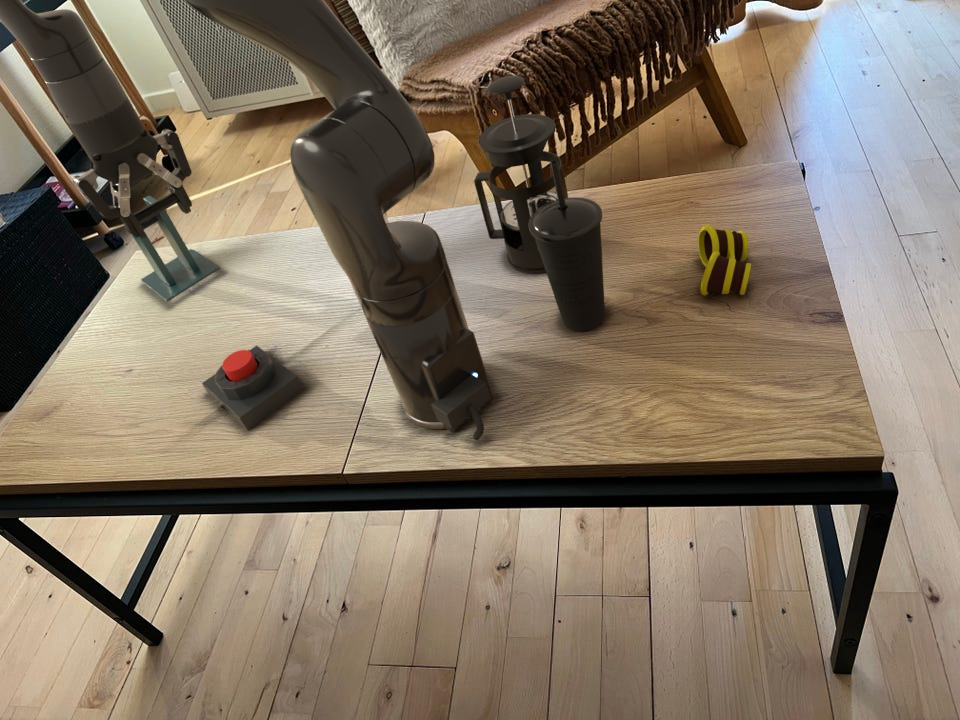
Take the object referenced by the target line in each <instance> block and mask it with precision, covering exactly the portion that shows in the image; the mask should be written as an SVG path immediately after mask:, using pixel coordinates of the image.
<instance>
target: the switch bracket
mask: <svg viewBox="0 0 960 720" xmlns="http://www.w3.org/2000/svg"><path fill="white" fill-rule="evenodd" d="M142 199H143V201H144V203H145V205H146V207H147V206H149V205H151V204H153V203H154V202H156V201H158V200H159V199H158V200H157V199H156V198H155V197H153V196H151V195H147V196H145V197H143V198H142ZM156 217H157V218H158V220H159V221H158V222H157V223H156V224H158V226H159V228H160V230H161V231H162V233H163V235H164V236H165V238H166V240H167V242H168V243H169V245H170V247H171V248H172V250H173V252H174V254H175V255H176V257H175V258H173V259H172V260H170V261H169V262H167V263H164V261H163V259H162V257H161V256H160V254H159V253H158V251H157V249H156V248H155V246H154V245H153V243H152V241H151V240H150V238H149V236H148V235H147V233H146V231H145V230H144V232H145V234H146V235H147V237H146V238H145V239H143V240H142V239H141V238H139V237H137V238H136V237H135V236H133V235H132V234H131V236H132V238H133V239H134V241H135V242H136V244H137V245H138V247H139V249H140V250H141V252H142V253H143V255H144V257H145V259H146V260H147V262H148V264H149V265H150V266H151V268H152V270H153V271H152V272H151V273H148V274H147V275H145V276H144V277H142V278H141V279H140V282H141V283H143V284H144V285H145V286H147V287H148V288H149V289H150V290H152V291H153V292H154V293H155V294H157V295H158V296H159V297H160V298H161V299H163V300H164V301H165V302H169V301H171V300H172V299H174V298H176V297H177V296H179V295H180V294H182V293H183V292H185V291H186V290H188V289H190V288H191V287H193V286H195V285H196V284H198V283H199V282H201V281H202V280H204V279H205V278H207V277H209V276H210V275H212V274H214V273H215V272H216V271H218V270H220V267H219V266H218V265H216V264H215V263H213V262H212V261H210V260H209V259H207V258H206V257H204V256H202V255H201V254H199V253H198V252H197V251H196V250H194V249H192V248H190V249H189V248H188V247H187V245H186V243H185V241H184V240H183V238H182V236H181V234H180V233H179V231H178V229H177V227H176V226H175V224H174V222H173V221H172V219H171V217H170V215H169V213H168V209H166V210H164V211H162V212H161V213H159V214H157V215H156ZM123 226H124V228H125V230H126V231H127V232H128V233H129V231H128V230H127V228H126V227H125V225H124V224H123ZM142 229H143V228H142Z"/></svg>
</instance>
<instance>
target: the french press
mask: <svg viewBox="0 0 960 720" xmlns="http://www.w3.org/2000/svg"><path fill="white" fill-rule="evenodd" d="M524 84H525V79H524V77H522V76H519V75H507V76H502V77H500V78H498V79H494V81H492V82H490V83H489V84H488V86H487V89H486V91H487V92H488V93H489V94H492V95H503V98H504V100H505V101H507V103H508V108H509V113H510V117H507V118H504V119H501V120H499V121H497V122H494V123H492V124H491V125H490V126H488V127H487V128H486V129H484V131H482V133H481V134H480V135H479V138H478V144H479V147H480V149H481V150H483V152H485V157H486V160H487V161H488V162H489V163H490V164H491V165H493V166H492V168H491V169H490V171H480V172H477V173H476V176H475V178H474V180H473V181H474V187H475V190H476V194H477V199H478V201H479V205H480V210H481V212H482V216H483V219H484V224H485V226H486V227H485V228H486V230H487V235H488V237H489V239H490V240H502V239H503V241H504V246H505V250H506V259H507V262H508V265H509V266H510V267H511V268H512V269H514V270H516V271H518V272H520V273H524V274H531V275H532V274H534V275H535V274H544V273H546V270H545V267H544V264H543V261H542V258H541V255H540V252H539V249H538V246H537V243H536V240H535V237H534V236H533V235H532V234H531V233H530V230H529V226H528V224H529V220H530V217H531V216H532V214H533V213H534V212H535V211H536V210H538V209H539V208H540V207H542V206H544V205H545V204H548V203H550V202H552V201H555V200H558V198H557V193H556V191H551V190H553V189H555V182H554V177H553V175H552V176H551V177H549V178H548V179H545V175H544V169H543V164H542V162H547V163H551V162H552V161H557V162H558V167H559V172H560V177H561V183H562V188H563V193H564V198H569V193H568V187H567V182H566V178H565V173H564V167H563V162H562V159H561V158H560V155H557V154H556V153H554V152H551V151H547V150H545V148H546V145H547V143H548V140H549V139H550V138H551V137H552V136H553V134H554V133H555V131H556V124H555V121H554V120H553V119H552V118H551V117H549V116H547V115H545V114H539V113H525V114H517V115H515V113H514V109H513V103H512V99H513V98H514V97H513V92H514V91H516V90H518V89H520V88H521V87H522V86H523V85H524ZM526 165H527V167H526ZM520 166H522V171H523V175H524V180H525V185H526V187H524V188H523V187H522V188H513V189H512V188H511V189H510V188H503V187H499V186H498V184H497V178H498V177H499V175H501V174H502V173H503V172H505V171H507V170H509V169H510V168H514V167H520ZM527 168H528V172H529V177H530V179H529V177H528V172H527ZM483 182H488V183H489V187H490V191H491V193H492V196H493V200H494V204H495V209H496V212H497V217H498V220H499V224H500V227H501V228H500V229H495V226H494V224H493V220H492V216H491V212H490V208H489V205H488V200H487V197H486V193H485V188H484V186H483ZM530 182H531V186H530ZM501 199H504V200H510V201H509V202H508V203H507V204H506V205H505V206H504V207H503V203H502V200H501ZM521 246H523V249H519V248H520V247H521Z"/></svg>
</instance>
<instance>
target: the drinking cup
mask: <svg viewBox="0 0 960 720" xmlns="http://www.w3.org/2000/svg"><path fill="white" fill-rule="evenodd" d="M550 167H551V172H552V176H553V177H554V182H555V187H554V189H555V193H557V198H558V200H555V201H552V202H550V203H548V204H545V205H544V206H542V207H540V208H539V209H538V210H536V211H535V212H534V213H533V214H532V216H531V217H530V220H529V224H528V226H529V230H530V233H531V234H532V235H533V236H534V237H535V240H536V243H537V246H538V250H539V252H540V255H541V258H542V261H543V264H544V267H545V270H546V272H545V273H546V276H547V279H548V281H549V285H550V288H551V291H552V294H553V297H554V299H555V303H556V305H557V306H556V307H557V308H558V311H559V314H560V317H561V320H562V323H563V325H564V326H565V328H566V329H568V330H570V331H572V332H578V333H583V332H589V331H592V330H594V329H597V328H598V327H599V326H601V324H602V323H603V322H604V321H605V318H606V307H605V288H604V268H603V265H604V264H603V248H602V247H603V246H602V229H601V228H602V227H601V223H602V220H603V210H602V208H601V206H600V204H598V203H597V202H596V201H594V200H592V199H589V198H586V197H579V196H578V197H575V196H574V197H573V196H572V197H568V198H564V193H563V188H562V183H561V177H560V172H559V166H558V162H557V161H552V162H550Z"/></svg>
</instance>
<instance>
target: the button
mask: <svg viewBox="0 0 960 720" xmlns="http://www.w3.org/2000/svg"><path fill="white" fill-rule="evenodd" d="M248 350H249V349H240V350H236V351H234V352H232V353H231V354H229V355H227V356H226V357H225V358H224V360H223V361H222V364H221V365H222V367H223V369H224V371H225V373H226V374H227V376H228V378H229V379H230V380H231V381H235V382H237V381H240V380H243V379H246V378H248V377H249V376H251V375H252V374H253V373H255V371H256V370H257V368H258V364H257V362H256V360H255V359H254V357H253V355H252V353H251V352H250V351H248Z"/></svg>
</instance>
